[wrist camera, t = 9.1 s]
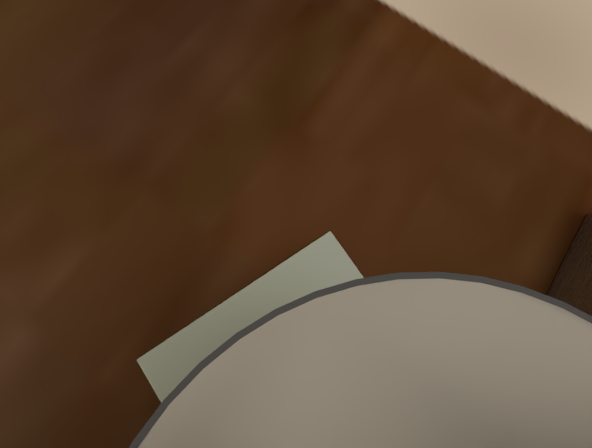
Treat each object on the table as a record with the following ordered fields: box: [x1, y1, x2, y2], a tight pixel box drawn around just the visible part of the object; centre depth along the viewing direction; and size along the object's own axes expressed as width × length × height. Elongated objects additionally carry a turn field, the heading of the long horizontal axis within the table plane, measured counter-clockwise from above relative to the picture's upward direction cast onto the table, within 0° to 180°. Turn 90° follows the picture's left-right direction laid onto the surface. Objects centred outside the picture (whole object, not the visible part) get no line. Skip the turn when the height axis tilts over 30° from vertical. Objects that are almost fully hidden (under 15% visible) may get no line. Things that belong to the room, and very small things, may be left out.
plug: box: [129, 272, 592, 448], centre depth 9 cm, size 5×5×13 cm
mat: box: [137, 231, 363, 403], centre depth 17 cm, size 9×9×1 cm
